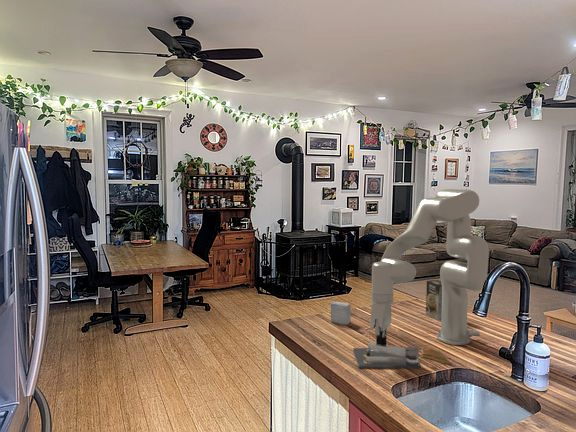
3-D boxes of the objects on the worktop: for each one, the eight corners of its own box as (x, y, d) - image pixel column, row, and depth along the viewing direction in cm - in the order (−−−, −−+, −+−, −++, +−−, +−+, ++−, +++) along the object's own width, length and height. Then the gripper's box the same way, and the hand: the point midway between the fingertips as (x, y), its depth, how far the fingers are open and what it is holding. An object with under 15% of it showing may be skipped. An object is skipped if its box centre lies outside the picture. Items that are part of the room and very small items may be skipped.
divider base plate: (409, 351, 151) (409, 344, 151) (421, 368, 137) (421, 360, 137) (353, 350, 151) (353, 343, 151) (358, 368, 137) (358, 360, 137)
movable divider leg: (419, 359, 140) (419, 347, 140) (417, 364, 136) (418, 352, 136) (367, 351, 147) (367, 340, 147) (365, 356, 143) (365, 344, 143)
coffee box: (425, 313, 193) (426, 280, 192) (436, 312, 195) (437, 279, 193) (437, 319, 184) (438, 285, 183) (449, 318, 186) (450, 284, 185)
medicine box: (350, 322, 182) (350, 303, 181) (346, 325, 178) (346, 306, 177) (334, 319, 186) (334, 300, 185) (330, 322, 182) (330, 303, 181)
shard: (450, 366, 139) (450, 361, 139) (428, 366, 139) (428, 361, 139) (438, 353, 150) (438, 348, 150) (417, 353, 150) (417, 348, 150)
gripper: (379, 290, 152) (378, 337, 154) (364, 300, 140) (363, 352, 141) (398, 293, 148) (397, 341, 150) (385, 304, 136) (384, 356, 137)
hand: (381, 346), depth 146 cm, fingers closed
